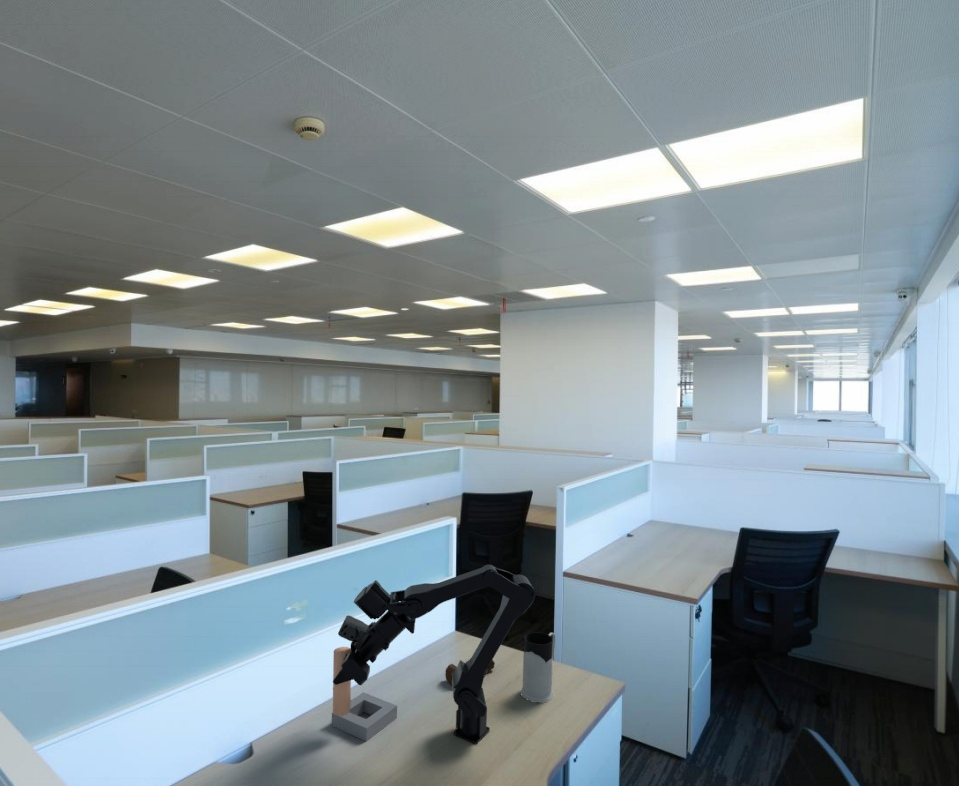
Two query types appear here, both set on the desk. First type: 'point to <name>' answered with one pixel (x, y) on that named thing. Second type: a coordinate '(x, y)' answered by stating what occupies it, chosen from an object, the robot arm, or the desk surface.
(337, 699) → the peg
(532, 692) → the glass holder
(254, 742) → the desk surface
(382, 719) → the socket block
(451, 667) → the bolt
